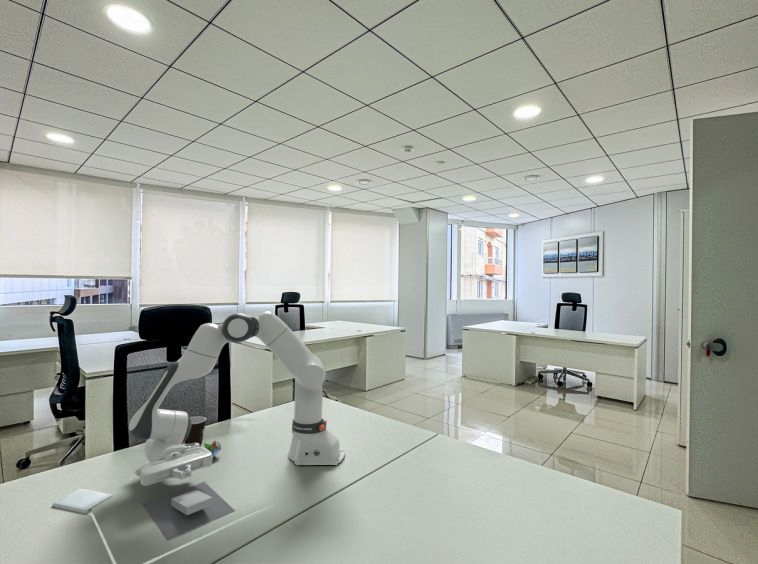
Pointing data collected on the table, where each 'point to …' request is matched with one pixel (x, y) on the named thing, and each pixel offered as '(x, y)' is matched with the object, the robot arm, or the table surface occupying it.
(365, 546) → the table surface
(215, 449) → the geometric puzzle
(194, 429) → the coffee mug
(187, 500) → the tile
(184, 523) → the mat
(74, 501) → the hard drive
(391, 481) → the table surface
